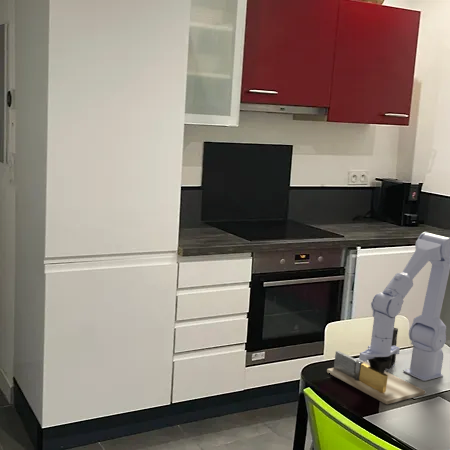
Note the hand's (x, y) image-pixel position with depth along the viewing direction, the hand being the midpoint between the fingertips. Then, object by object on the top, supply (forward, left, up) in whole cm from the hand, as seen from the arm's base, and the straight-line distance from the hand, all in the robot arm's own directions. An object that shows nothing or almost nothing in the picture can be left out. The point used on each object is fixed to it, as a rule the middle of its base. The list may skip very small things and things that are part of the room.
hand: (376, 380), depth 185 cm
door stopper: (-18, -13, -3) cm, 22 cm away
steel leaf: (+2, -9, -1) cm, 10 cm away
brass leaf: (+2, +1, -1) cm, 3 cm away
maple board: (-3, -3, -2) cm, 5 cm away
